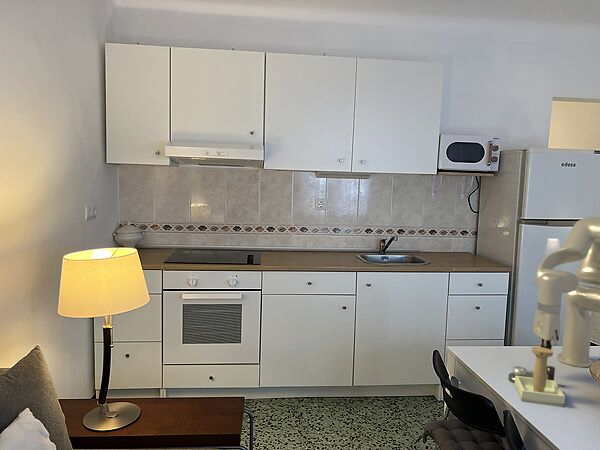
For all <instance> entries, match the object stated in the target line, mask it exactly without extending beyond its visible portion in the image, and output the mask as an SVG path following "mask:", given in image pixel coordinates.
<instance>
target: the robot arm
mask: <svg viewBox="0 0 600 450" xmlns="http://www.w3.org/2000/svg"><path fill="white" fill-rule="evenodd" d="M574 262H578V265H577V269H576V273H574V272H573V273H572V272H570V271H564V270H563V271H562V270H558V269H555V268H556V267H557V266H560V265H564V264H569V263H574ZM534 282H535V284H536V285H537V286H538V294H537V304H536V305H537V307H536V310H535V314H534V320H533V333H534V334H535V335H536V336H538V337H539V344H540V347H543V348H547V349H550V350H552V347H553V346H557V345H558V341H559V340H560V337H561V310H562V309H561V308H562V307H561V305H562V296H563V295H562V294H564V305H565V312H564V314H565V316H564V324H563V325H564V327H563V334H562V336H563V338H562V346H561V353H557V354H556V359H557V360H558V361H559V362H561V363H563V364H566V365H569V366H573V367H579V368H590V367H589V365H590V364H591V362H593V360H591V358H590V347H591V339H592V329H593V319H592V317H591V315H590V312H592V313H593V312H594V313H598V314H600V217H598V216H597V217H595V216H589V217H583V218H582V219H579V220H577V221H575V223H574V225H573V226H572V229H571V230H570V233H569V235H568V237H567V238H566V240H565V243H564V245H563V246H562V247H560V248H558V249H555V250H554V251H552V252H550V253H548V254H547V255H546V256H545V257H544V258H543V259H542V261H541V262H540V264H539V266H538V268H537V270H536V272H535V277H534ZM579 282H581V283H583V284H579ZM585 284H586V285H585ZM587 284H588V285H587ZM590 285H591V286H590ZM592 285H593V286H592ZM596 286H597V287H596ZM598 286H599V287H598ZM593 363H594V362H593Z"/></svg>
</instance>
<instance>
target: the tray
mask: <svg viewBox="0 0 600 450" xmlns="http://www.w3.org/2000/svg"><path fill="white" fill-rule="evenodd" d="M514 387H515V390H516V391H517V394H518V397H519V398H520V400H521V402H527V403H533V404H540V405H548V406H553V407H554V406H555V407H562V408H564V407H565V400H566V396H565V394H564V393H563V392H562V390H561V389H560V386H559V385H558V384H557V382H556V381H555V380H554V381H553V380H546V386H545V389H544V393H542V392H534V390H533V388H534V387H533V378H530V377H522V376H515V383H514Z"/></svg>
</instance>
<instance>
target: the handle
mask: <svg viewBox="0 0 600 450" xmlns="http://www.w3.org/2000/svg"><path fill="white" fill-rule="evenodd" d="M531 353H532V354H534V355H535V363H534V369H533V371H534V375H533V387H534V388H533V390H534V392H542V393H544V389H545V386H546V379H547V366H548V358H549V357H550V358H551V357H553V355H554V351H553V349H551V350H550V349H547V348H543V347H541V346H531Z"/></svg>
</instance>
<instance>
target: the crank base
mask: <svg viewBox="0 0 600 450" xmlns="http://www.w3.org/2000/svg"><path fill="white" fill-rule="evenodd" d="M507 380H508V381H509V382H511V383H513V384H515V377H514V376H513V372H510V373H508V379H507ZM558 387H562V388H563V387H564V388H566V385H562V384H559V385H558Z"/></svg>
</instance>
